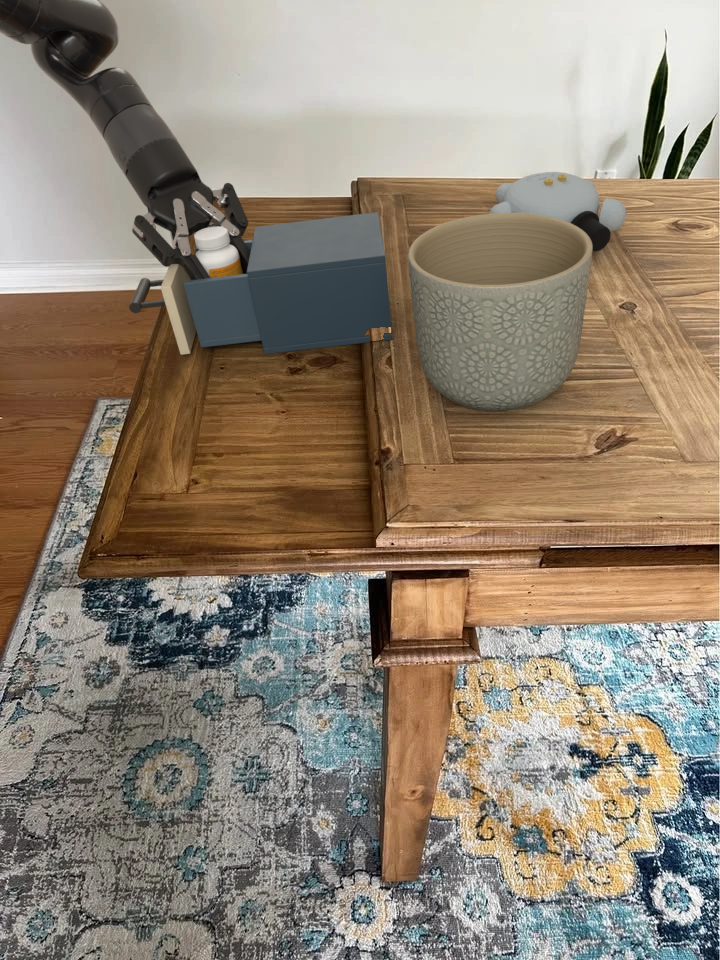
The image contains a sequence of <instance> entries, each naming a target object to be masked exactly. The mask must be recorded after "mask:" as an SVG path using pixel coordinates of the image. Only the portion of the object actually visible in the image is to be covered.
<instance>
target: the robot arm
mask: <svg viewBox="0 0 720 960" xmlns="http://www.w3.org/2000/svg"><path fill="white" fill-rule="evenodd" d="M0 34H1V35H4V36H5V37H7V38H9V39H11V40H12V41H14V42H17V43H19V44H21V45H22V44H23V45H30V50H31V54H32V57H33V60H34V62H35V63H36V65H37V66H38V68H39V69H40V70H41V71H42V72H43V73H44V74H45V75H46V76H47V77H49V79H51V80H52V82H54V83H55V84H57V86H59V87H60V88H61V89H62V90H63V91H64V92H66V93H67V94H68V95H69V96H70V97H71V98H72V99H73V100H74V101H75V102H76V103H77V104H78V105H79V106H80V108H81V109H82V110H83V111H84V112H85V113H86V115H88V117H89V119H90V120H91V121H92V123H93V125H94V126H95V128H96V129H97V131H98V133H99V134H100V135H101V137H102V138H103V140H104V142H105V143H106V145H107V147H108V149H109V151H110V153H111V155H112V157H113V159H114V161H115V163H116V164H117V166H118V167H119V169H120V170H121V172H122V173H123V174H124V176H125V178H126V179H127V180H128V183H129V184H130V185H131V187H132V188H133V190H134V192H135V193H136V195H137V196H138V198H139V199H140V202H141V203H142V204H143V205H144V206H145V207H146V209H147V213H146V214H144V215H141V214H138V215H136V216H135V217H134V220H133V223H132V229H131V232H132V234H133V235H134V236H135V237H136V238H137V239H138V240H139V242H141V244H142V245H143V246H144V247H145V248H146V249H147V250H148V251H149V252H150V253H151V254H152V256H153V257H155V258H156V259H157V261H158V262H159V263H160V264H161V265H162V266H163V267H166V268H168V267H169V266H170V265H171V264H179V265H181V266H182V267H183V268H184V270H185V271H186V273H187V274H188V276H189V277H190V279H191V280H199V279H207V278H210V276H209V275H208V273H207V272H206V270H205V269H204V267H203V266H202V264H201V263H200V261H199V259H198V258H197V256H196V255H195V254H196V253H194V254H192V250H191V245H190V239H189V237H191V236H192V235H194V234H195V233H196V232H198V231H199V230H202V229H204V228H208V227H218V226H219V227H224V228H226V229H227V230H228V234H229V238H230V243H229V244H230V245H233V246H234V247H235V248H236V249H237V250H238V253H239V257H240V262H241V267H242V271H243V272H246V271H247V268H248V263H249V257H250V250H249V249H248V247H247V246H246V244H245V243H244V241H245V240H244V239H243V238H242V237H243V236H244V234H245V232H246V230H247V228H248V226H249V220H248V218H247V214H246V213H245V210H244V208H243V206H242V203H241V202H240V199H239V197H238V195H237V193H236V192H237V191H236V189H235V187H234V185H233V184H232V183H230V182H226V183H224V185H223V186H222V187H221V188H213V189H212V188H211V187H210V186H208V185H207V184H205V183H204V182H203V181H202V179H201V178H200V175H199V173H198V171H197V170H198V169H196V167H195V166H194V164H193V162H192V161H191V160H190V157H189V156H188V155H187V154H186V152H185V150H184V148H183V147H182V145H181V144H180V142H179V141H178V139H177V137H176V136H175V134H174V133H173V132H172V130H171V128H170V127H169V126H168V125H167V123H166V122H165V120H164V119H163V118H162V117H161V116H160V114H159V113H158V112H157V111H156V109H155V108H154V106H153V104H152V103H151V102H150V100H149V98H148V97H147V96H146V94H145V93H144V91H143V89H142V88H141V86H140V85H139V83H138V81H137V80H136V79H135V77H134V75H133V74H131V73H130V72H129V71H128V70H126V69H124V68H122V67H116V66H115V67H108V68H105V69H103V70H102V69H101V70H100V71H98V72H96V73H94V72H95V71H96V70H97V69H98V68H99V67H100V66H101V65H102V64H103V63H104V62H105V61H106V60H107V59H108V58H109V57H110V56H111V55H112V54H113V52H114V51H115V50H116V48H117V47H118V45H119V42H120V29H119V26H118V23H117V20H116V17H114V14H113V13H112V12H111V10H110V9H109V8H108V7H107V6H106V5H105V4H104V2H103V1H101V0H0ZM93 73H94V74H93ZM92 74H93V75H92ZM214 202H216V204H218V206H219V208H220V209H223V211H224V213H223V212H222V211H220V210H219V209H218V208H217V207H215V205H214ZM226 217H227V218H226ZM212 221H213V222H212ZM157 226H158V227H161V228H162V229H165V230H166V231H168V232H169V234H170V240H171V244H172V246H171V245H170V243H169V242H168V241H167V240H166V239H165V237H163V236H162V235H161V234H160V233H159V232H158V231H157Z"/></svg>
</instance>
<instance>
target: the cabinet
mask: <svg viewBox="0 0 720 960" xmlns="http://www.w3.org/2000/svg"><path fill="white" fill-rule="evenodd" d="M252 240H253V241H252V247H251V252H250V257H249V263H248V268H247V276H248V280H249V285H250V290H251V294H252V299H253V303H254V308H255V313H256V317H257V322H258V327H259V331H260V336H261V340H262V341H261V345H262V349H263V354H264V355H271V354H280V353H286V352H297V351H307V350H313V349H323V348H331V347H332V348H333V347H340V346H348V345H358V344H366V343H371V342H370V338H369V335H366V336H365V334H366V332H367V331H368V330H369V329H371V328H380V327H386V328H388V327H393V326H392V315H391V303H390V293H389V283H388V282H389V281H388V270H387V260H386V259H387V258H386V252H385V245H384V238H383V232H382V228H381V221H380V215H379V211H377V212H374V211H373V212H367V213H359V214H351V215H343V216H342V215H341V216H334V217H325V218H318V219H310V220H301V221H292V222H283V223H276V224H269V225H268V224H267V225H259V226H255V227H254V230H253V236H252ZM383 338H384V339H382V340H383V341H382V342H385V341H392V340H393V331H392V332H391V333H384V335H383Z"/></svg>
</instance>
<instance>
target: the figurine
mask: <svg viewBox="0 0 720 960" xmlns="http://www.w3.org/2000/svg"><path fill="white" fill-rule="evenodd" d="M495 200H496V201H497V204H494V205H493V206H492V207H491V208H490V210H489V214H492V213H528V214H537V215H543V216H549V217H553V218H557V219H560V220H563V221H566V222H569V223H571V224H573V225H575V226H577V227H579V228H580V229H582V230H583V231H584V232H585V233H586V234H587V235H588V236H589V237H590V239H591V241H592V245H593V249H592V252H599V251H601V250H603V249H605V248H606V246H607V245H608V243H609V242H610V241H611V235H612V234H611V233H613V232H616V231H618V230H619V229H621V228H622V227H623V225H624V223H625V220H626V218H627V208H626V207H625V204H623V203H622V201H620V200H618V199H615V198H609V197H608V198H605V199H604V200H603V202H602V204H601V208H600V196H599V192H598V190H597V188H596V185H595V184H594V182H593V181H590V180H588V179H584V178H582V177H580V176H577V175H575V174H571V173H566V172H561V171H545V172H538V173H533V174H529V175H526V176H523V177H521V178H519V179H517V180H516V181H514V182H512V183H510V182H505V183H502V184H500V185H498V187H497V189H496V190H495ZM599 209H600V210H599ZM599 211H600V212H599Z"/></svg>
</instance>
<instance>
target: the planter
mask: <svg viewBox="0 0 720 960" xmlns="http://www.w3.org/2000/svg"><path fill="white" fill-rule="evenodd" d="M592 249H593V245H592V241H591V239H590V237H589V236H588V235H587V234H586V233H585V232H584V231H583V230H582V229H580V228H579V227H577V226H575V225H573V224H571V223H569V222H566V221H563V220H560V219H557V218H553V217H549V216H543V215H537V214H528V213H492V214H490V213H484V214H483V213H482V214H477V215H476V214H475V215H471V216H465V217H460V218H457V219H452V220H450V221H446V222H443V223H441V224H439V225H437V226H434V227H432V228H430V229H428V230H427V231H425V232H423V233H422V234H421V235H419V236H418V237H417V238H415V240H414V241H412V243H411V245H410V247H409V250H408V253H407V254H408V255H407V257H408V259H407V261H408V274H409V275H408V276H409V284H410V285H409V286H410V295H411V304H412V311H413V312H412V313H413V321H414V332H415V343H416V349H417V354H418V355H417V356H418V361H419V365H420V368H421V370H422V372H423V375H424V376H425V378H426V379H427V381H428V382H429V384H430V385H431V386H432V387H433V389H435V390H436V391H437V392H438V393H439V394H441V395H442V396H443V397H445V398H446V399H448V400H449V401H451V402H453V403H455V404H457V405H459V406H461V407H464V408H467V409H472V410H475V411H480V412H481V411H482V412H490V413H491V412H492V413H493V412H494V413H501V412H511V411H517V410H521V409H523V408H524V409H525V408H527V407H530V406H533V405H535V404H537V403H539V402H541V401H543V400H545V399H546V398H548V397H550V396H551V395H552V394H554V393H555V392H556V391H557V390H559V389H560V388H561V387H562V386H563V385H564V384H565V382H566V381H567V380H568V378H569V377H570V375H571V373H572V372H573V370H574V367H575V366H576V362H577V359H578V354H579V350H580V345H581V340H582V333H583V325H584V318H585V311H586V305H587V298H588V292H589V284H590V275H591V268H592V261H593V259H592V258H593V251H592Z"/></svg>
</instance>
